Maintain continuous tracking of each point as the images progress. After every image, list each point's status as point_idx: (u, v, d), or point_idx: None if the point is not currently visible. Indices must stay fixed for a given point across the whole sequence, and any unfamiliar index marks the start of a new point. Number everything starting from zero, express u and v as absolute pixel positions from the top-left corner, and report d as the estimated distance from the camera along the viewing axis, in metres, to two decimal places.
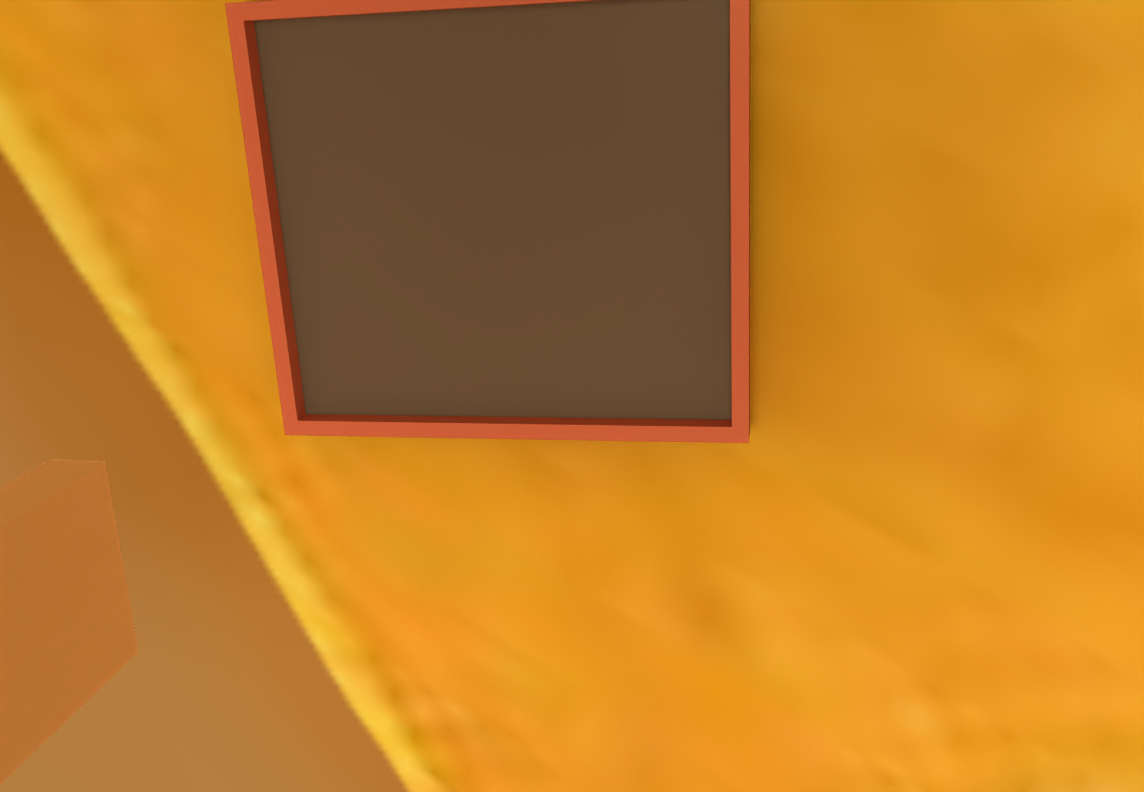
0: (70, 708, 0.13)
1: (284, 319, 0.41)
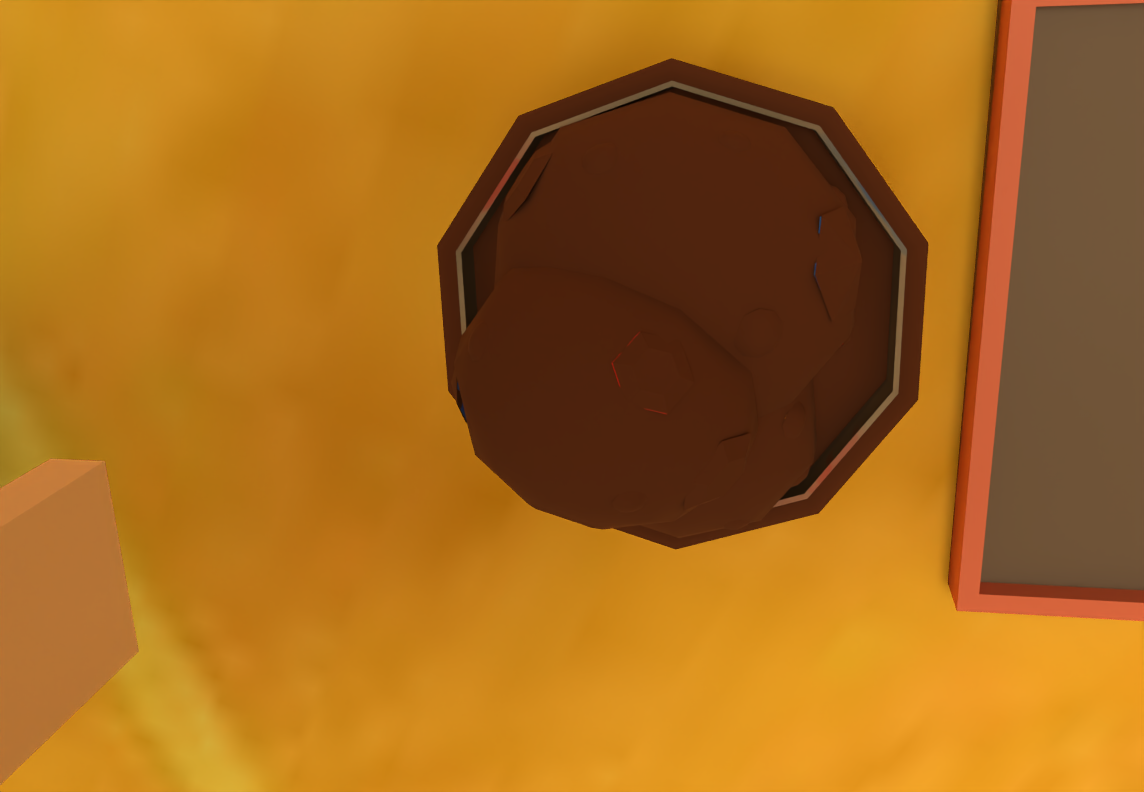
0: (70, 708, 0.13)
1: None
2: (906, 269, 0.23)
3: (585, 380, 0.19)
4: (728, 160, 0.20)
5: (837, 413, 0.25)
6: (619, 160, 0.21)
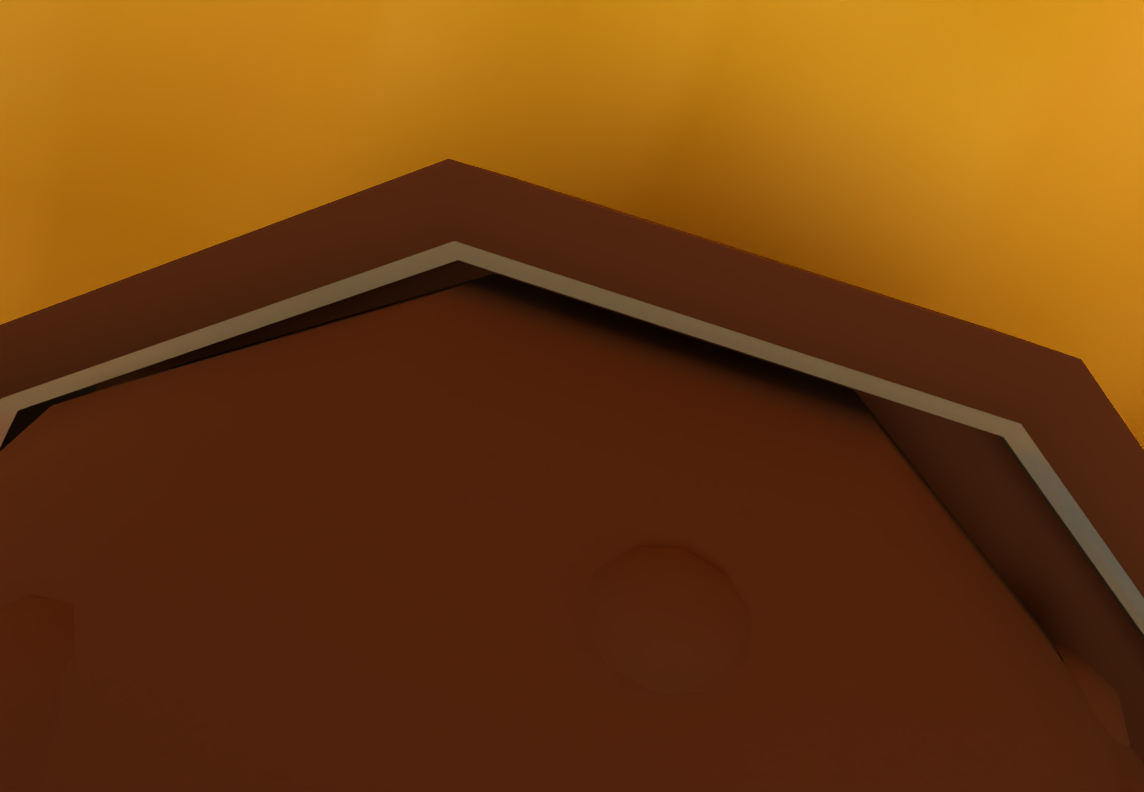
0: None
1: None
2: None
3: None
4: (619, 778, 0.04)
5: None
6: (73, 728, 0.04)
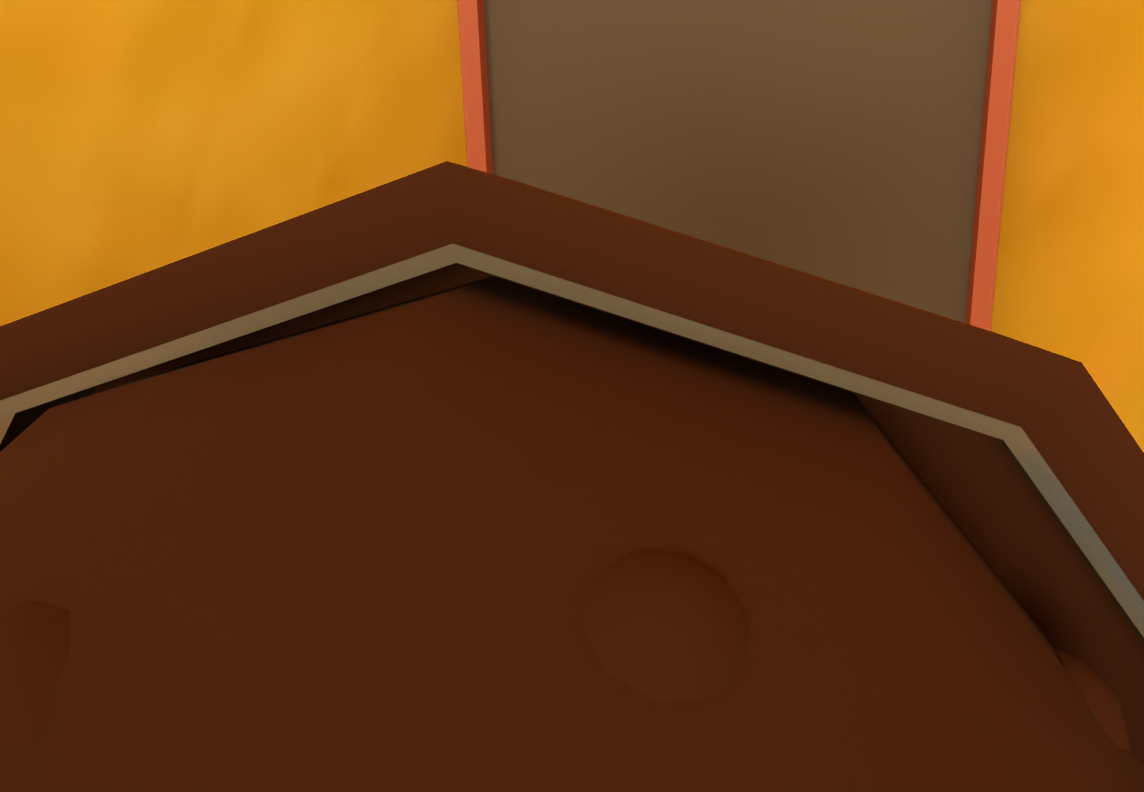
0: None
1: None
2: None
3: None
4: (616, 783, 0.04)
5: None
6: (67, 736, 0.04)
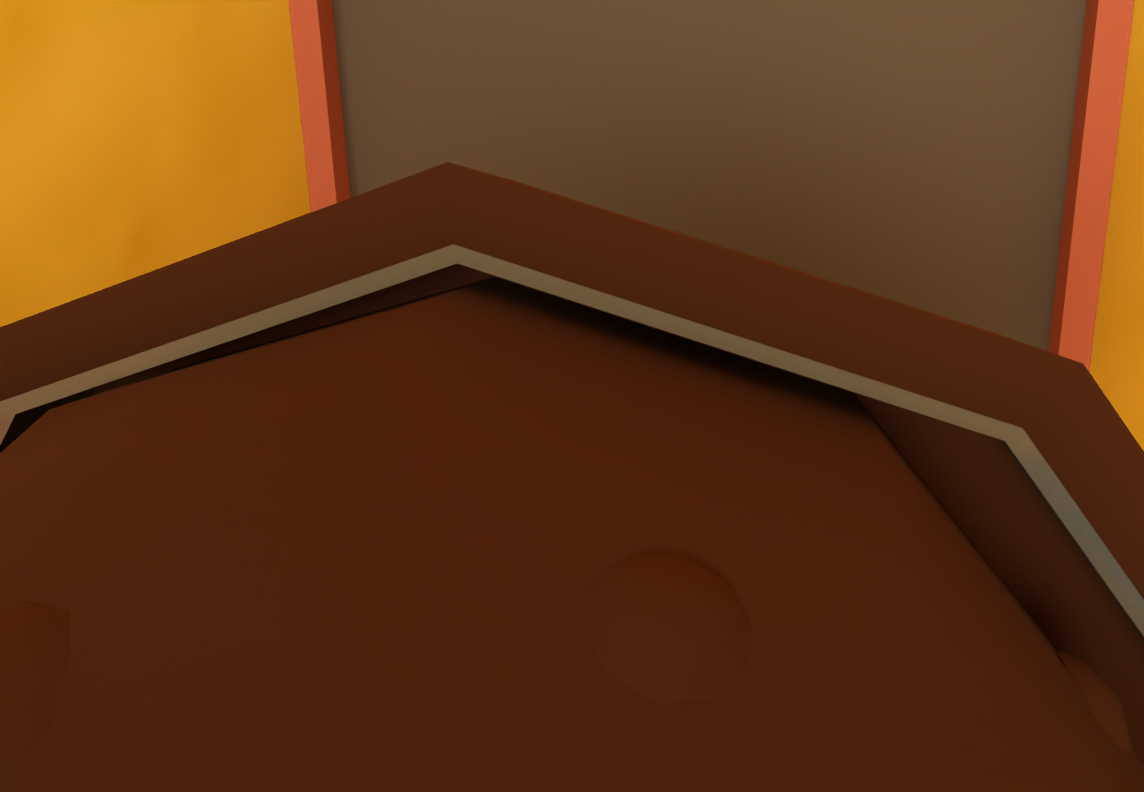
0: None
1: None
2: None
3: None
4: (619, 787, 0.04)
5: None
6: (65, 737, 0.04)
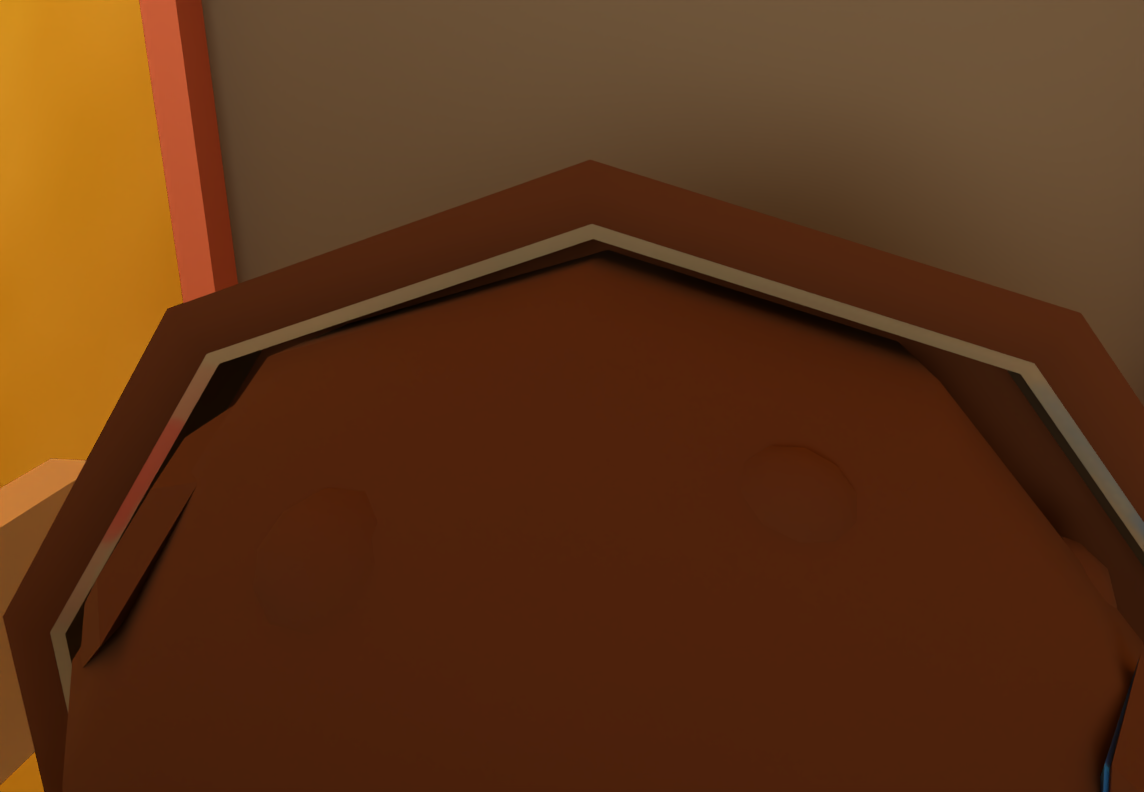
0: None
1: None
2: None
3: None
4: (780, 596, 0.05)
5: None
6: (381, 574, 0.06)
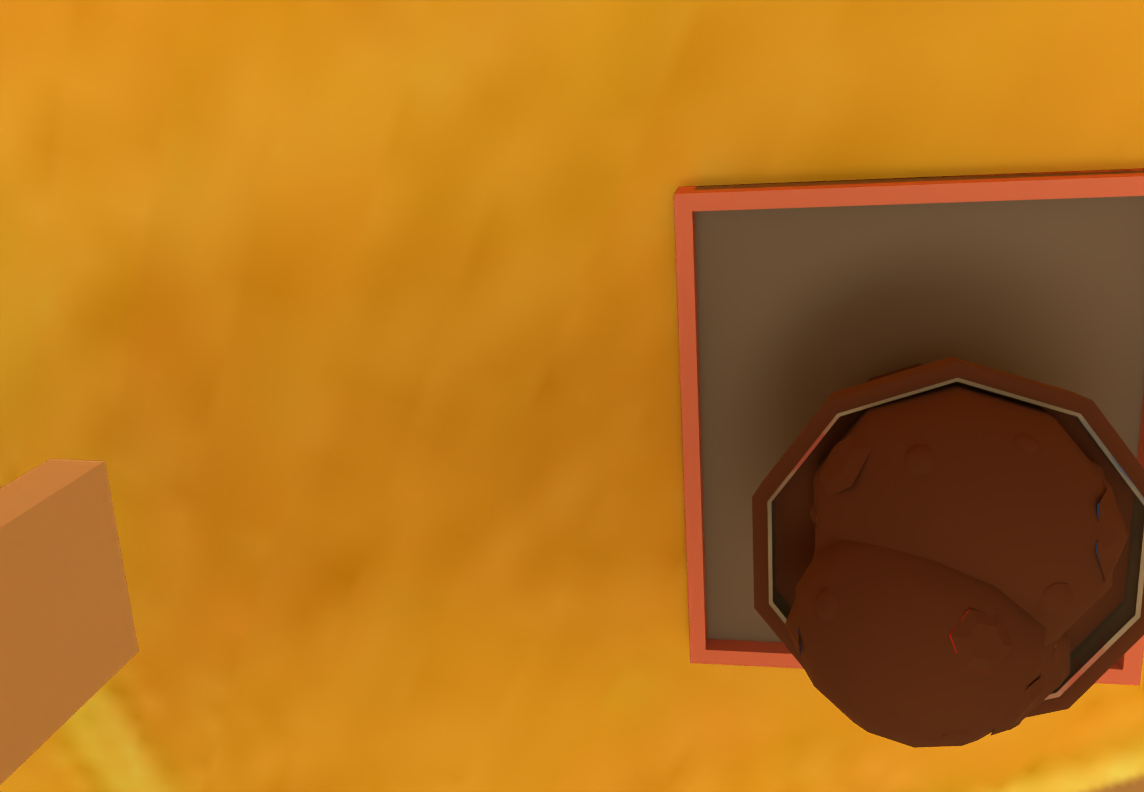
0: (70, 708, 0.13)
1: None
2: None
3: (929, 649, 0.25)
4: (1026, 464, 0.26)
5: (1082, 626, 0.30)
6: (937, 462, 0.26)
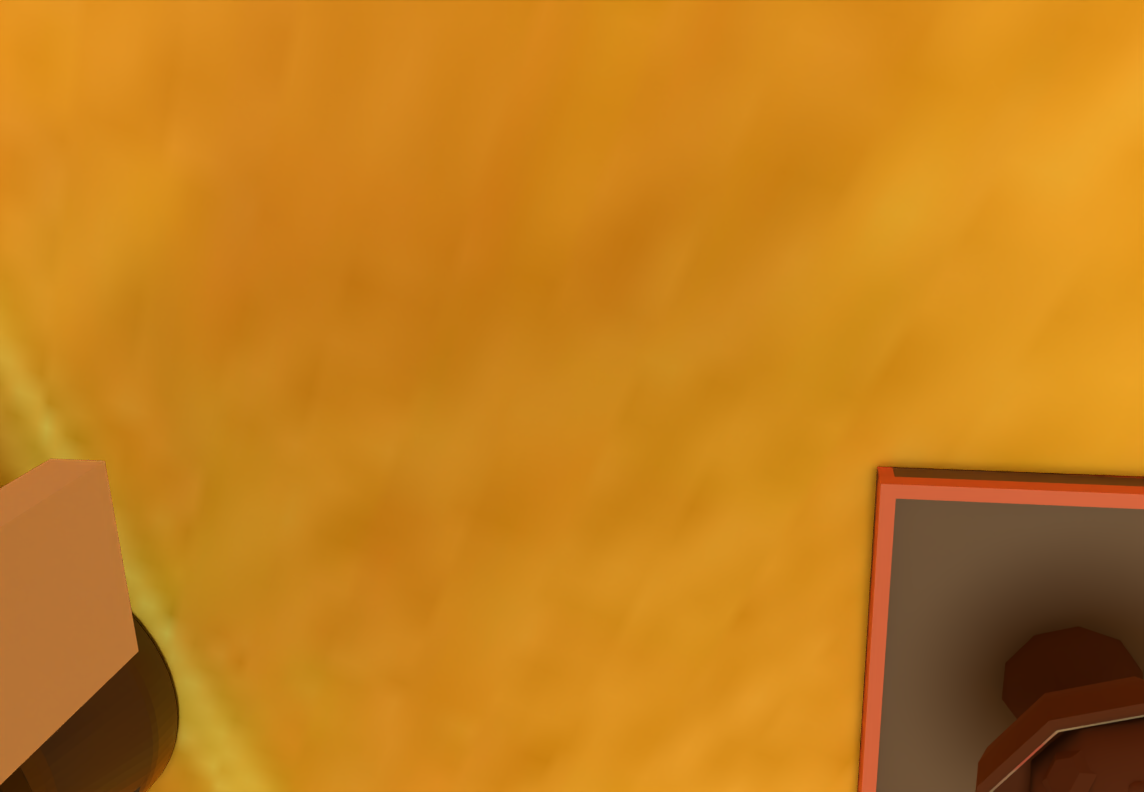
0: (70, 708, 0.13)
1: None
2: None
3: None
4: None
5: None
6: None
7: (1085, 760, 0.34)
